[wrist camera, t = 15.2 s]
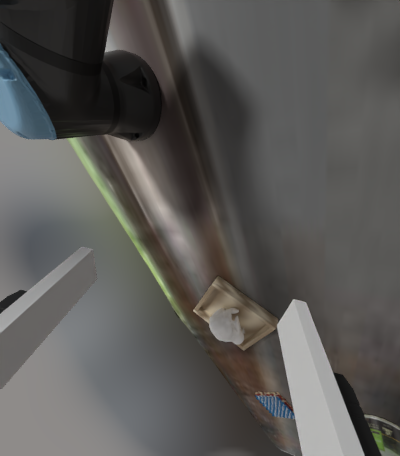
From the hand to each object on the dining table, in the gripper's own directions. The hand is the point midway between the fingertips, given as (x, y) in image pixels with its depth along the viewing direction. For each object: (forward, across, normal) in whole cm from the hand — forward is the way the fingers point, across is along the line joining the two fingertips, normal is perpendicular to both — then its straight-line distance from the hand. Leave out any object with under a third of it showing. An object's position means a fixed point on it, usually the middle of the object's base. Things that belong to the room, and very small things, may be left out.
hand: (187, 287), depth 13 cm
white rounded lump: (+28, +13, -37) cm, 48 cm away
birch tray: (+28, +12, -36) cm, 47 cm away
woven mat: (+23, +36, -68) cm, 80 cm away
